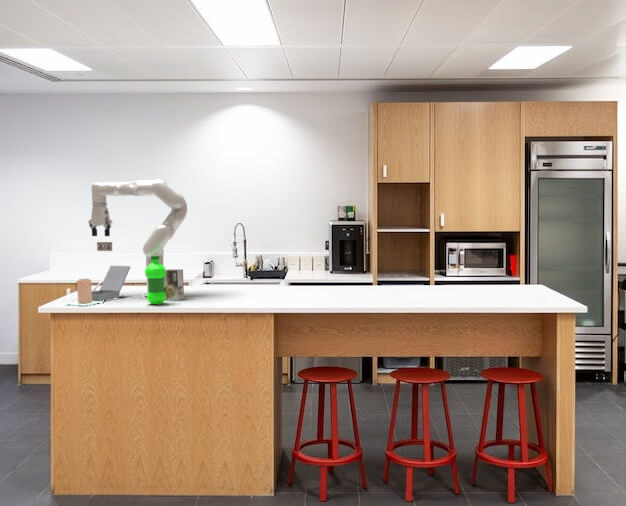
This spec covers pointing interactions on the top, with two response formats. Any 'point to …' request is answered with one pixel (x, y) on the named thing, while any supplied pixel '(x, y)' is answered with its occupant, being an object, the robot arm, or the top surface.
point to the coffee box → (174, 284)
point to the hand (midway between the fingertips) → (100, 236)
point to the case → (111, 283)
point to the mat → (83, 304)
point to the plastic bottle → (155, 281)
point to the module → (84, 291)
